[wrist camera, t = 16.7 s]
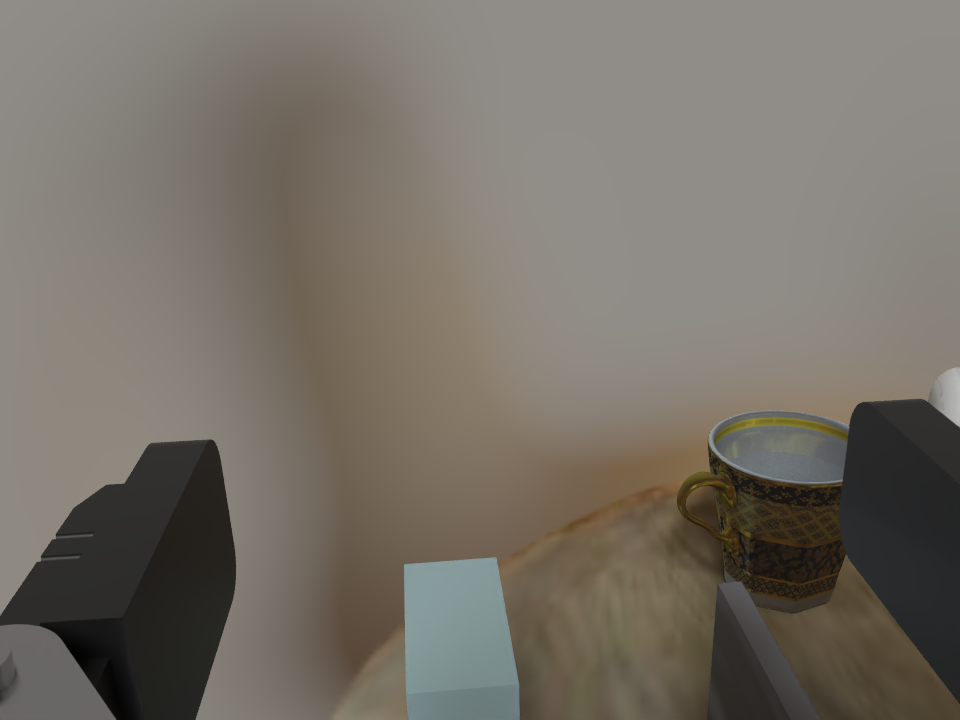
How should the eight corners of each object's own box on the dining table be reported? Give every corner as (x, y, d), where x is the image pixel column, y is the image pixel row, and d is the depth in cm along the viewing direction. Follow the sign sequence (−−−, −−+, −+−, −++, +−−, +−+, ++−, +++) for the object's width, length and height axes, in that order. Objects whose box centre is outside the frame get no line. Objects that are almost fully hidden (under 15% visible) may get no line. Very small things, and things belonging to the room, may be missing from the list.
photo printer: (906, 505, 68) (931, 348, 63) (971, 514, 66) (1001, 355, 62) (912, 583, 59) (941, 408, 54) (987, 596, 57) (1024, 417, 53)
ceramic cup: (789, 527, 66) (803, 399, 62) (896, 605, 57) (919, 462, 53) (631, 570, 61) (635, 436, 58) (720, 663, 53) (732, 511, 49)
